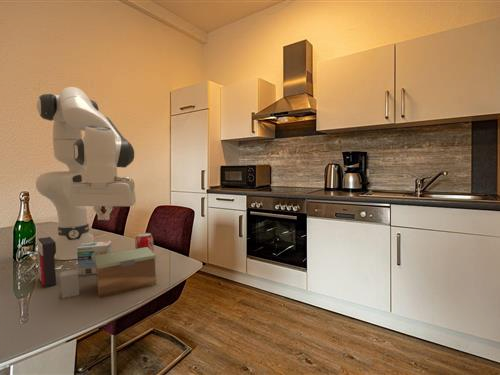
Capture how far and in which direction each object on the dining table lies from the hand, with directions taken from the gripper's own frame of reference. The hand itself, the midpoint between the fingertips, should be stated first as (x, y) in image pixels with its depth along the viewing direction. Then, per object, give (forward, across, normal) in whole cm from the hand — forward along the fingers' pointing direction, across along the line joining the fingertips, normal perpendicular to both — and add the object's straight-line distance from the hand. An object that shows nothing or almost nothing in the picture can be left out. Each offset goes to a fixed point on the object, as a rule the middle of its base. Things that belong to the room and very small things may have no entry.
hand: (103, 219), depth 87 cm
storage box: (+23, -4, -4) cm, 24 cm away
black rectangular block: (+24, +25, -6) cm, 35 cm away
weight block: (+23, +10, +3) cm, 26 cm away
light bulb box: (+24, +14, -16) cm, 32 cm away
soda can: (+24, -2, -26) cm, 35 cm away
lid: (+15, -5, -4) cm, 16 cm away
